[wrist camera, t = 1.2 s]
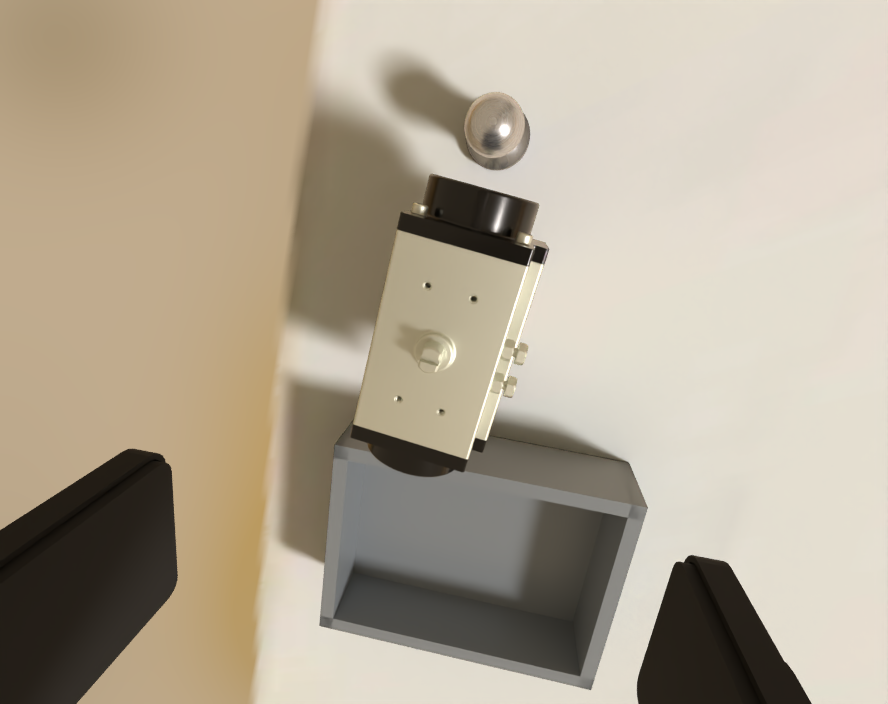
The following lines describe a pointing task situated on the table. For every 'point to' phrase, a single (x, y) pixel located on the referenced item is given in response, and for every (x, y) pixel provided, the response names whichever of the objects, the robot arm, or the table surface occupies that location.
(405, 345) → the pneumatic valve
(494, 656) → the tray
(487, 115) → the metal knob
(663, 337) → the table surface
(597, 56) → the table surface
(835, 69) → the table surface
